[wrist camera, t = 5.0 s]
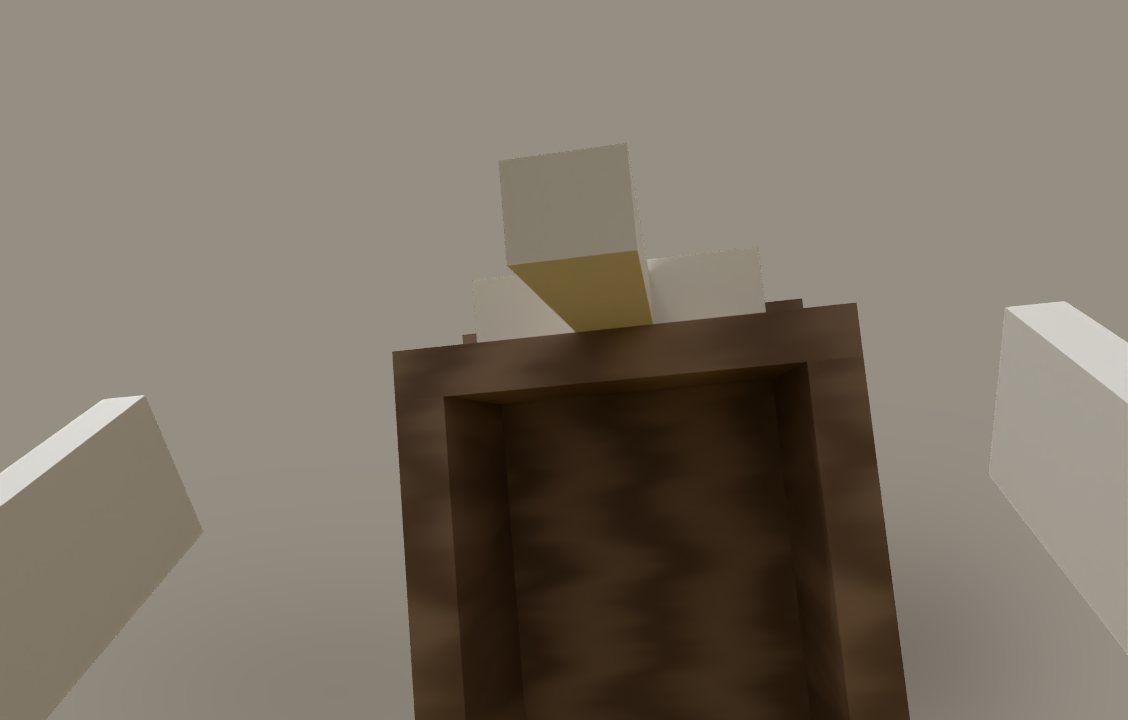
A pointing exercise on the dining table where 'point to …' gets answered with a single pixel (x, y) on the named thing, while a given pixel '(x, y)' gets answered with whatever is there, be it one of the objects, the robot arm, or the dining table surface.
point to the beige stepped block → (597, 256)
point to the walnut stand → (648, 524)
